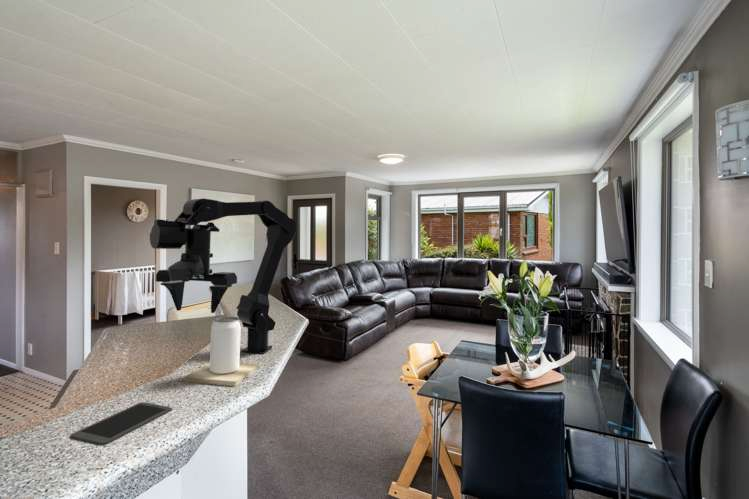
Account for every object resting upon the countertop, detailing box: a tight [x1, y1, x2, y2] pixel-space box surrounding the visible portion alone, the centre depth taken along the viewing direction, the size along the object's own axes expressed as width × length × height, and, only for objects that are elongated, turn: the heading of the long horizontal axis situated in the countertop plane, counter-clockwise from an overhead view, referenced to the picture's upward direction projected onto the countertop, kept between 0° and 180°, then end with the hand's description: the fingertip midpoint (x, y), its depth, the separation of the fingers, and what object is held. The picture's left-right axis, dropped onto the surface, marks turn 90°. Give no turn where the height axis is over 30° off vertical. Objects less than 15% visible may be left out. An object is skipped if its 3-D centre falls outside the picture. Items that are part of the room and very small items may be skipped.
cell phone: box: [69, 402, 173, 446], centre depth 68 cm, size 7×14×1 cm, turn 164°
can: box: [209, 316, 242, 374], centre depth 92 cm, size 6×6×12 cm
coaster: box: [183, 362, 260, 387], centre depth 92 cm, size 12×12×1 cm
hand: (195, 311), depth 99 cm, fingers open, 9 cm apart
